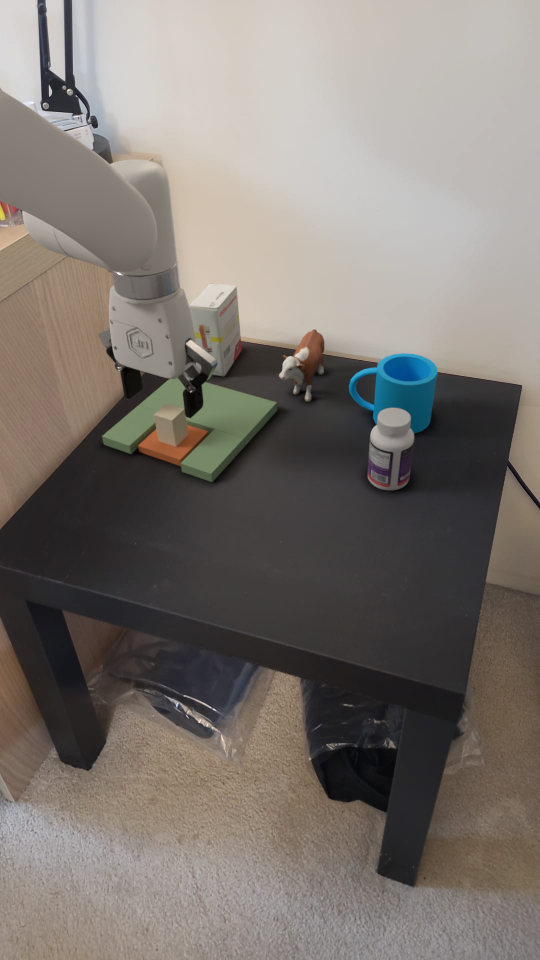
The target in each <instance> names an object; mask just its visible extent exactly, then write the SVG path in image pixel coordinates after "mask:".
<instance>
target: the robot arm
mask: <svg viewBox="0 0 540 960" xmlns="http://www.w3.org/2000/svg"><path fill="white" fill-rule="evenodd" d="M0 202H1V203H4V204H6V205H9V206H12V207H14V208H16V209H18V210H20V211H21V213H22V214H21V215H22V220H23V224H24V227H25V229H26V231H27V232H28V234H29V236H30V237H31V238H32V239H33V241H35V242H36V243H37V244H39V245H40V246H41V247H43V248H45V249H46V250H49V251H51V252H53V253H55V254H59V255H62V256H66V257H69V258H72V259H74V260H78V261H81V262H85V263H87V264H91V265H94V266H97V267H100V268H102V269H105V270H107V273H111V275H112V281H113V285H112V286H111V287H110V289H109V296H108V319H109V321H108V322H109V327H107V328H105V329H103V330H101V332H99V333H98V338H99V339H100V340H99V341H100V342H101V343H102V345H103V347H104V348H106V349H105V353H106V354H107V356H108V357H109V358H110V359H111V360H112V362H114V369H115V371H117V372H120V373H119V375H120V379H121V386H122V390H123V395H124V398H125V399H128V400H130V399H132V398H134V396H135V395H137V394H138V393H139V392H141V391H142V390H143V388H144V385H143V379H142V374H141V373H142V372H143V373H147V374H151V375H154V376H156V377H157V376H158V377H160V378H165V379H168V380H169V379H176V378H178V379H179V380H180V381H181V383H182V384H183V385H184V387H185V388H186V389H185V390H184V391H183V401H184V409H185V416H186V417H188V418H192V417H193V416H194V415H195V414H196V413H197V412H198V411H199V410H200V409H201V408H202V407H203V392H202V384H204V383H205V382H207V381H208V380H210V379H211V378H212V377H213V376H214V375H213V372H214V370H215V368H216V366H217V364H218V361H217V360H216V359H215V358H214V357H213V356H211V355H210V354H209V353H207V352H206V351H205V350H204V349H202V348H201V347H200V346H198V345H197V344H196V339H195V332H194V326H193V321H192V316H191V312H190V308H189V305H190V304H189V302H188V298H187V296H186V292H185V289H183V288H181V285H180V274H179V264H178V255H177V245H176V238H175V237H176V235H175V228H174V219H173V208H172V198H171V191H170V182H169V177H168V174H167V172H166V170H165V168H164V167H163V166H162V165H161V164H159V163H158V162H155V161H152V160H148V159H124V160H117V161H114V162H112V163H109V162H108V161H107V160H105V159H104V158H103V157H102V156H101V155H99V154H98V153H97V152H95V151H94V150H93V149H91V148H90V147H88V146H87V145H86V144H84V143H83V142H81V141H80V140H78V139H77V138H76V137H74V136H72V135H71V134H69V133H68V132H66V131H65V130H64V129H62V128H60V127H58V126H57V125H55V124H54V123H52V122H51V121H49V120H48V119H46V118H44V117H43V116H42V115H41V114H39V113H38V112H36V111H35V110H34V109H32V108H30V107H29V106H27V105H26V104H24V103H23V102H21V101H20V100H18V99H17V98H15V97H13V96H12V95H10V94H8V93H7V92H5V90H4V91H3V89H1V88H0ZM196 362H197V363H199V364H200V365H201V371H200V369H199V368H198V367H197V365H196ZM186 371H188V372H189V373H190V375H191V376H192V378H193V380H191V379H190V378H191V377H190V376H189V374H188V373H187V372H186Z"/></svg>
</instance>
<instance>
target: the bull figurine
mask: <svg viewBox="0 0 540 960" xmlns="http://www.w3.org/2000/svg"><path fill="white" fill-rule="evenodd" d="M325 348H326V347H325V339H324V337H323V334H321V333H320V332H318V330H317V329H315V328H314V329H312V330H311V331H308V332H307V333H305V334H304V336H303V337H302V339H301V341H300V343H299V344H298V346H297V348H296V350H295V351H294V353H293V355H290V356H286V355H285V354H283V355H282V359H283V360H284V361H283V362H282V370H281V372H279V374H278V378H280V379H281V380H282V381H287V380H293V384H294V388H293V390H292V394H293V395H299V394H300V391H301V386H302V385H303V383H304V382H306V385H305V388H306V392H305V396H304V401H305V402H311V401H312V393H311V390H312V388H313V381H314V374H315V371H316V370H317V369H318V370H317V374H318V375H319V376H320V375H321V376H322V375H324V373H325V370H324V352H325Z"/></svg>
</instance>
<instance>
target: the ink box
mask: <svg viewBox="0 0 540 960" xmlns="http://www.w3.org/2000/svg"><path fill="white" fill-rule="evenodd" d="M188 305H189V308H190V312H191V316H192V321H193V326H194V332H195V339H196V344H197V345H198V346H200V347H201V348H202V349H204V350H205V351H206V352H207V353H209V354H210V355H211V356H213V357H214V358H215V359H216V360H217V361H218V364H217V366H216V368H215V370H214V372H213V375H212V376H217V377H226V375H227V373H228V372H229V370H230V369H231V367H232V366H233V364H234V363H235V362H236V360H237V359H238V357H239V355H240V354H241V352H242V350H243V349H242V338H241V337H242V336H241V323H240V311H239V301H238V286H236V285H234V284H224V283H223V284H222V283H221V284H220V283H214V282H213V283H212V282H210V283H209V284H208V285H207V286H205V288H204V289H203V290H202V291H201V292H200V293H199V294H198V295H197V296H196V298H195V299H194V300H193V301H192V302H191V303H190V304H188ZM195 364H196V365H197V367H198V368H199V369H200V371H201V365H200V364H199V363H197V362H196V363H195Z"/></svg>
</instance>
